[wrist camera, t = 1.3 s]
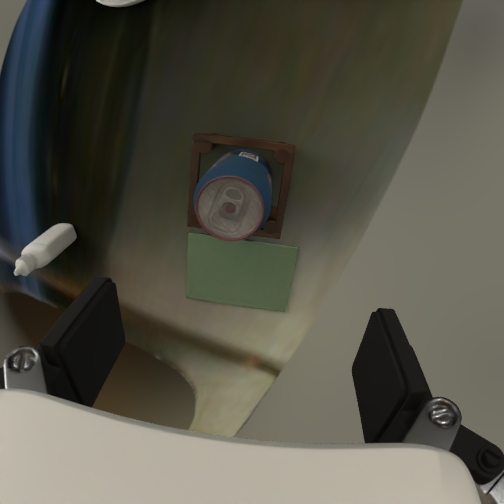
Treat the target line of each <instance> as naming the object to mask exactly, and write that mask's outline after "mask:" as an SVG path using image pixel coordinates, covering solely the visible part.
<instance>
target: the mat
mask: <svg viewBox="0 0 504 504" xmlns="http://www.w3.org/2000/svg"><path fill="white" fill-rule="evenodd" d="M298 250H299V247H292V246H285V245H278V244H271V243H264V242H257V241H250V240H243V239H242V240H238V241H224V240H220V239H217V238H215V237H213V236H212V235H208V234H200V233H193V232H189V234H188V259H187V298H192V299H198V300H204V301H210V302H217V303H223V304H230V305H237V306H244V307H251V308H258V309H265V310H273V311H280V312H285V310H286V306H287V301H288V297H289V292H290V288H291V283H292V278H293V274H294V269H295V265H296V260H297V255H298Z"/></svg>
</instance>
